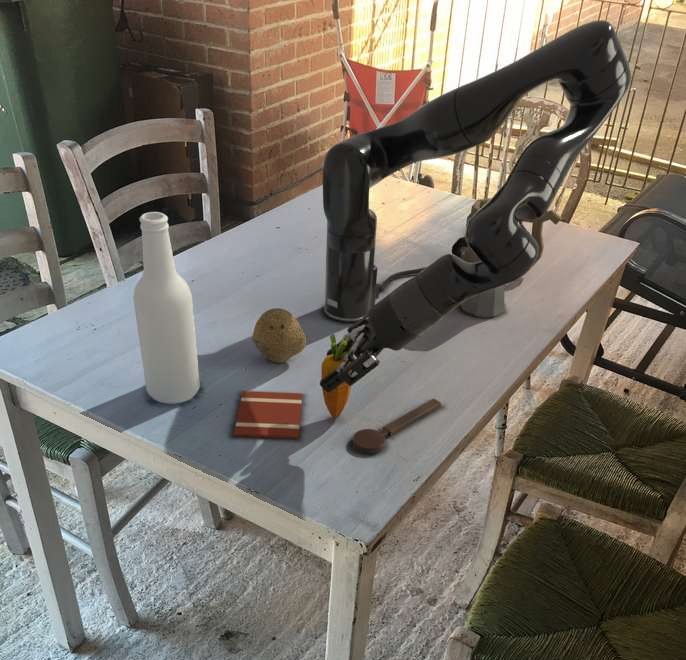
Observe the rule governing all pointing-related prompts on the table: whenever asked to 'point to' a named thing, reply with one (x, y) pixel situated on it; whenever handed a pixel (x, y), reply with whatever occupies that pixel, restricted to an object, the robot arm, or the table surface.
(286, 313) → the brown round lump
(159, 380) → the alcohol
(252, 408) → the tea towel
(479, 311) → the coffeepot
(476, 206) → the tankard
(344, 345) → the carrot
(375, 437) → the wooden spoon
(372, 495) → the table surface
